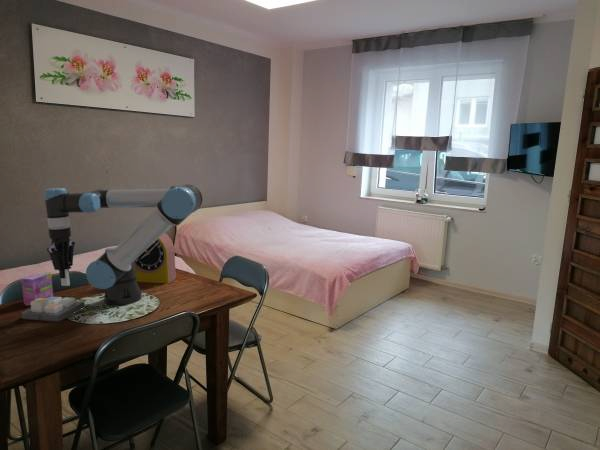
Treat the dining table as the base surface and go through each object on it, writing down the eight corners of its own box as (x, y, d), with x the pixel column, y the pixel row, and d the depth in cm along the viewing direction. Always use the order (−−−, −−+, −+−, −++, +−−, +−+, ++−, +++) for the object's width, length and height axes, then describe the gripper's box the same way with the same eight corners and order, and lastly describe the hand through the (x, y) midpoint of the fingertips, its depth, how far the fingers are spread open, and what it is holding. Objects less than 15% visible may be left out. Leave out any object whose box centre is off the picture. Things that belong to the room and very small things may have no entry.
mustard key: (49, 308, 171) (48, 298, 170) (41, 312, 166) (40, 302, 166) (40, 307, 171) (38, 297, 171) (31, 311, 167) (30, 301, 166)
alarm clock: (128, 281, 214) (124, 229, 209) (138, 275, 222) (134, 225, 218) (168, 283, 210) (165, 230, 206) (176, 277, 219) (173, 227, 214)
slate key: (62, 306, 178) (61, 296, 177) (55, 310, 173) (53, 300, 173) (53, 305, 178) (52, 296, 178) (45, 309, 174) (44, 299, 173)
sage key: (75, 307, 177) (74, 297, 176) (68, 311, 172) (67, 301, 172) (66, 306, 177) (65, 296, 177) (58, 310, 173) (57, 300, 172)
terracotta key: (63, 313, 170) (62, 303, 169) (55, 318, 166) (54, 307, 165) (53, 313, 171) (52, 302, 170) (45, 317, 166) (44, 306, 166)
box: (35, 306, 179) (32, 279, 177) (23, 305, 181) (20, 278, 178) (54, 298, 189) (51, 272, 187) (43, 297, 191) (40, 271, 189)
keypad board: (84, 307, 178) (84, 301, 178) (58, 321, 163) (58, 315, 163) (50, 305, 181) (50, 299, 180) (22, 318, 166) (21, 312, 166)
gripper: (62, 224, 176) (68, 280, 180) (38, 230, 163) (45, 289, 167) (79, 224, 175) (84, 280, 179) (55, 230, 162) (62, 290, 166)
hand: (65, 285), depth 173 cm, fingers closed
